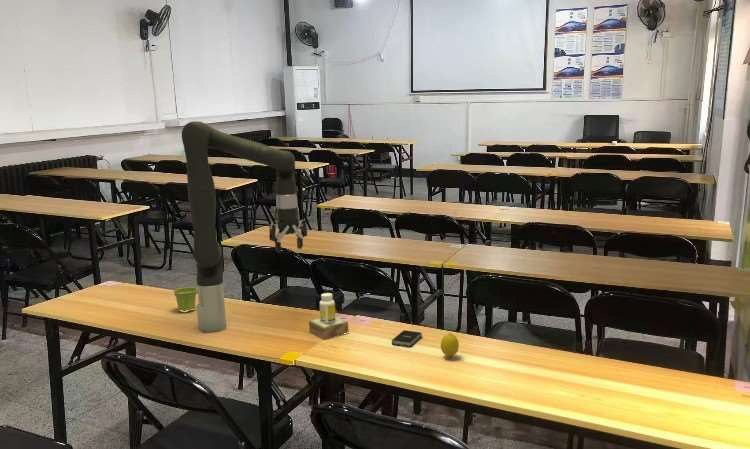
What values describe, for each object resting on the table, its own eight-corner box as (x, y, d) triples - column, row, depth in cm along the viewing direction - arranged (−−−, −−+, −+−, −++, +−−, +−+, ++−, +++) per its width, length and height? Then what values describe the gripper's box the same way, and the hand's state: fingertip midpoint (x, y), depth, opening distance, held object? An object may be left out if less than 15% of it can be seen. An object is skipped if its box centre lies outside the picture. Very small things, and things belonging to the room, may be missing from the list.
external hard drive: (391, 346, 200) (391, 340, 199) (403, 335, 209) (403, 329, 209) (410, 349, 197) (410, 343, 196) (422, 337, 206) (422, 332, 206)
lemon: (460, 355, 189) (460, 330, 188) (456, 361, 184) (456, 336, 183) (443, 353, 191) (442, 329, 190) (439, 359, 186) (438, 335, 185)
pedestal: (324, 339, 206) (323, 327, 205) (309, 332, 214) (309, 320, 213) (348, 333, 212) (347, 321, 211) (333, 326, 220) (332, 314, 219)
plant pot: (177, 307, 247) (175, 287, 245) (201, 306, 248) (199, 286, 246) (172, 315, 238) (170, 293, 236) (196, 313, 239) (195, 292, 237)
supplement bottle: (336, 318, 214) (335, 292, 213) (334, 323, 209) (333, 296, 207) (321, 318, 215) (320, 292, 213) (319, 323, 209) (317, 296, 208)
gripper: (299, 203, 223) (301, 246, 226) (264, 207, 214) (267, 251, 217) (309, 205, 217) (311, 249, 220) (274, 209, 209) (276, 254, 211)
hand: (289, 250), depth 218 cm, fingers open, 8 cm apart
